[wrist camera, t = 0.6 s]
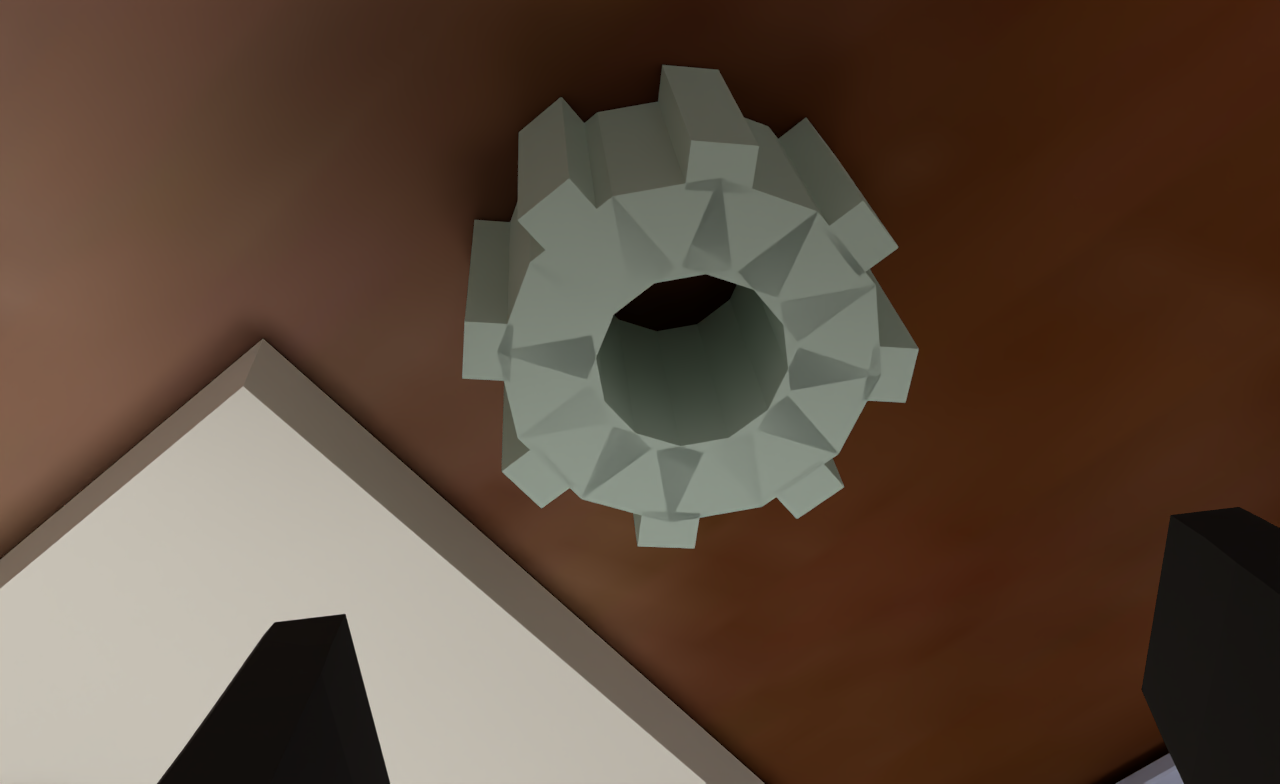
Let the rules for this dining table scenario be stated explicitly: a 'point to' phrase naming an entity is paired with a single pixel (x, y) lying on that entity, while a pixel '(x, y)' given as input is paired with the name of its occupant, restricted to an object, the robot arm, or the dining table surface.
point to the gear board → (307, 611)
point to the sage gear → (691, 355)
